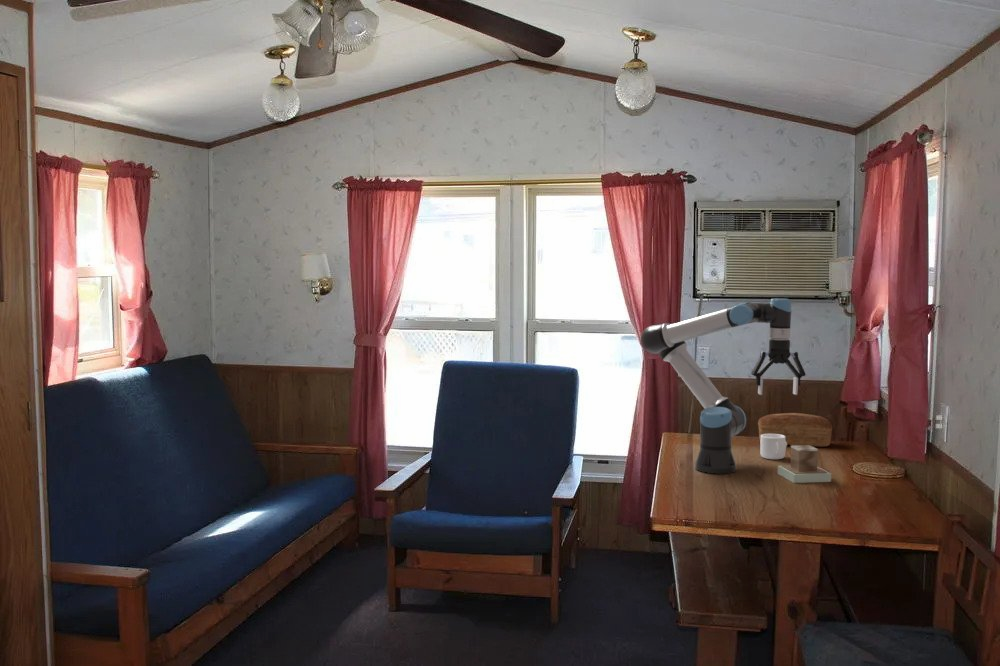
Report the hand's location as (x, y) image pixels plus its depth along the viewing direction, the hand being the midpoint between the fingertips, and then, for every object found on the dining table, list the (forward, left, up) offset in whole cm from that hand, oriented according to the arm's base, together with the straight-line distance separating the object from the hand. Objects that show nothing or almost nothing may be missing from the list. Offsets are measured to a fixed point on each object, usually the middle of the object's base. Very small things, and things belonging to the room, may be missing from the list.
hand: (777, 394), depth 326 cm
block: (+5, -14, -26) cm, 30 cm away
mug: (+7, +18, -29) cm, 35 cm away
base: (+5, -14, -29) cm, 33 cm away
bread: (+27, +44, -29) cm, 60 cm away
